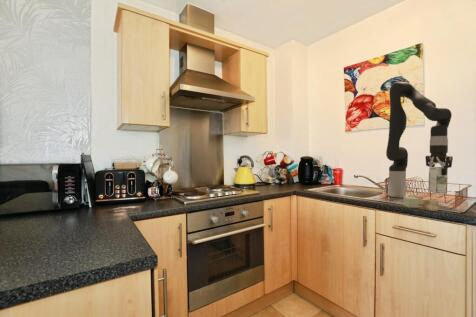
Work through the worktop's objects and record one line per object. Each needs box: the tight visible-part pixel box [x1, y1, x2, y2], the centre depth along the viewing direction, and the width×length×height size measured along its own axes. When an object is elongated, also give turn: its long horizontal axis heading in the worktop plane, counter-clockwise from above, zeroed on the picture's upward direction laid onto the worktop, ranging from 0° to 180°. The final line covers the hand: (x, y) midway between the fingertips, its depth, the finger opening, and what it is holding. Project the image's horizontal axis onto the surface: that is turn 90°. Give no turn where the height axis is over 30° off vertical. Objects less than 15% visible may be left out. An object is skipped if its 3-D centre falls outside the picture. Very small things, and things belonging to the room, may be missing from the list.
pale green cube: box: [407, 194, 424, 206], centre depth 129 cm, size 5×5×5 cm
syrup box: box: [428, 166, 449, 194], centre depth 126 cm, size 6×6×14 cm
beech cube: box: [420, 198, 440, 212], centre depth 117 cm, size 5×5×5 cm
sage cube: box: [402, 196, 420, 209], centre depth 124 cm, size 5×5×5 cm
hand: (438, 174), depth 125 cm, fingers closed on syrup box, 6 cm apart
